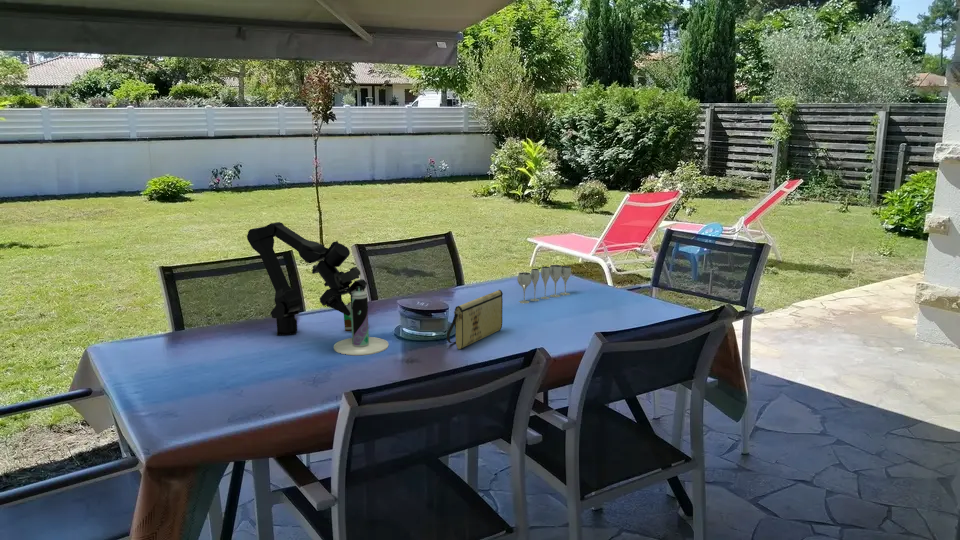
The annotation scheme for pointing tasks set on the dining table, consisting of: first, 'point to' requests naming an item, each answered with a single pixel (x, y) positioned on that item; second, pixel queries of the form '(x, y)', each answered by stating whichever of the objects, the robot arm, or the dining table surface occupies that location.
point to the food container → (348, 319)
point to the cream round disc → (373, 347)
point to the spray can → (359, 318)
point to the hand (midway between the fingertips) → (358, 311)
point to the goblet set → (544, 278)
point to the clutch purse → (477, 319)
